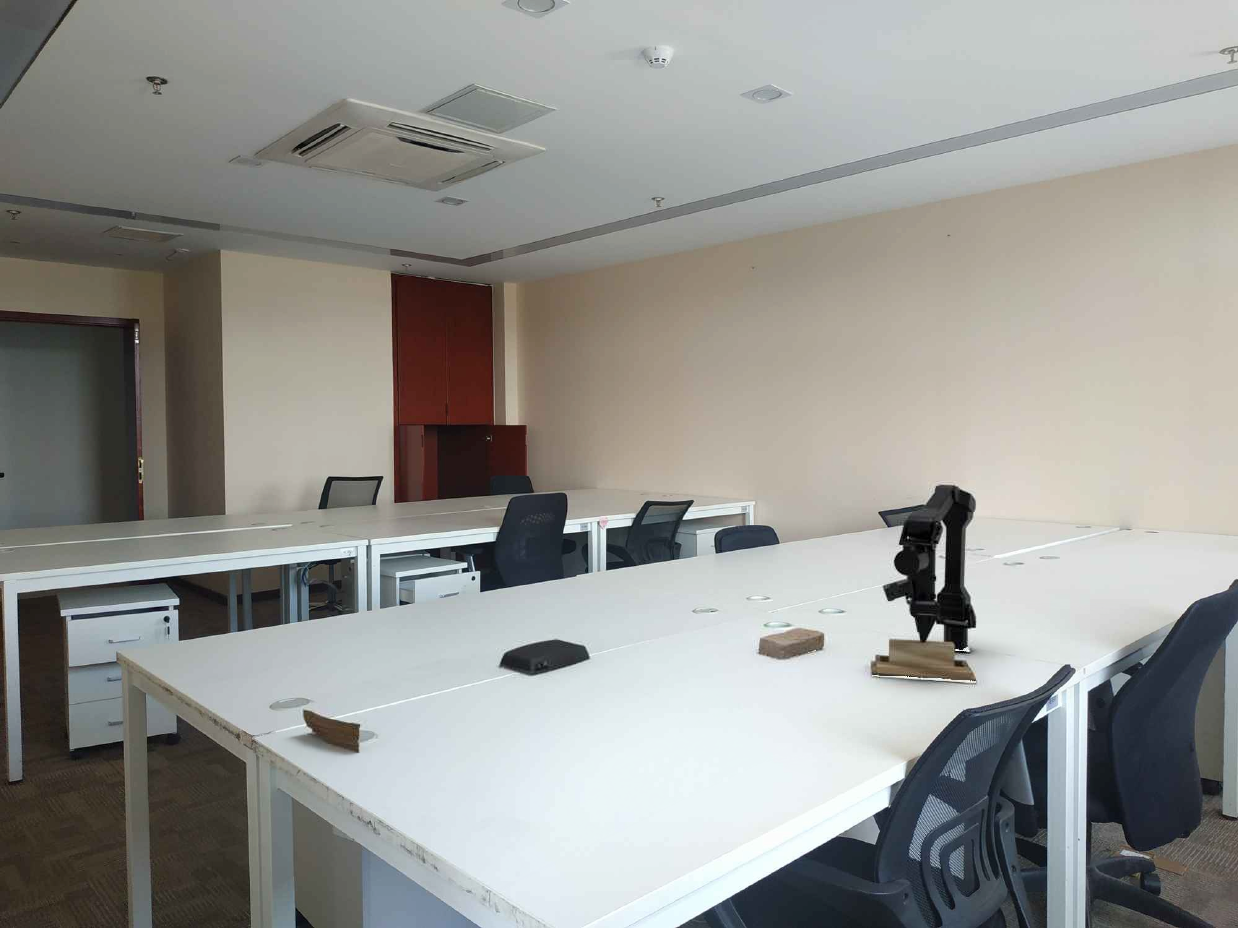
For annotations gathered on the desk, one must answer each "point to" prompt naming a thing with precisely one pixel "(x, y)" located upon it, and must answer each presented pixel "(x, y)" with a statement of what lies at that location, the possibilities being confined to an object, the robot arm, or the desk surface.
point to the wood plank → (333, 730)
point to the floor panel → (921, 669)
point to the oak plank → (921, 652)
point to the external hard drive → (544, 656)
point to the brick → (791, 643)
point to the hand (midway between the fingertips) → (921, 637)
